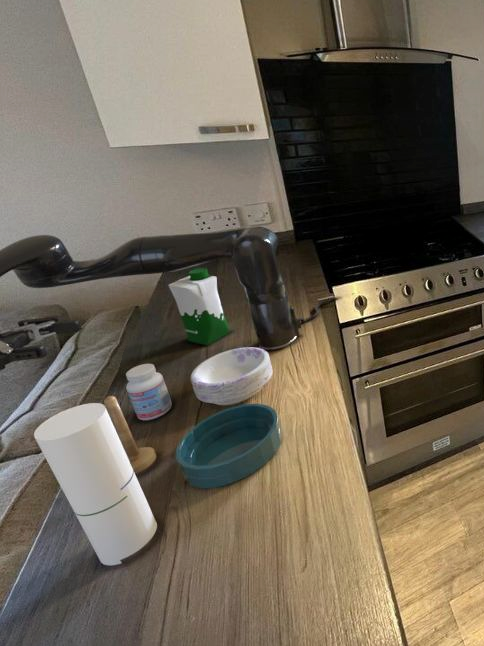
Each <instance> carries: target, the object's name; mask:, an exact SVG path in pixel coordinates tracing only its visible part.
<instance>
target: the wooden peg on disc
mask: <svg viewBox="0 0 484 646" xmlns="http://www.w3.org/2000/svg"><path fill="white" fill-rule="evenodd" d="M103 403H104V404H103V405H104V406H105V408H106V410H107V412H108V414H109V416H110V419H111V421H112V423H113V425H114V428H115V430H116V432H117V434H118V437H119V439H120V441H121V444H122V446H123V448H124V450H125V453H126V455H127V457H128V460H129V462H130V464H131V466H132V469H133V471H134V473H135V475H136V474H138V473H141V472H143V471H144V470H146V469H147V468H149V467H150V466H151V465H153V463H154V462H155V461H156V460H157V453H156V451H155V449H154V447H151V446H144V447H143V446H142V447H139V448H138V446H137V444H136V442H135V439H134V436H133V434H132V432H131V429H130V427H129V425H128V423H127V420H126V418H125V416H124V413H123V411H122V409H121V406H120V404H119V402H118V399H117V397H116V396H113V395H109V396H106V398H104V400H103Z"/></svg>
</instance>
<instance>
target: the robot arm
mask: <svg viewBox="0 0 484 646" xmlns="http://www.w3.org/2000/svg"><path fill="white" fill-rule="evenodd" d="M278 247H279V238H278V236H277V235H276V233H275V232H274V231H273V230H271V229H269V228H266V227H264V226H248V227H241V228H236V229H230V230H224V231H217V232H203V233H197V232H196V233H182V234H181V233H180V234H162V235H160V234H159V235H150V236H149V235H147V236H139V237H135V238H132V239H130V240H128V241H126V242H124V243H123V244H122V245H119V246H117V248H115V249H113V250H112V251H111V252H109V253H107V254H106V255H103V256H101V257H99V258H94V259H93V258H92V259H88V260H74V259H73V257H72V256H71V254H70V252H69V250H68V249H67V247H66V246H65V244H64V243H63V241H62V240H61V239H60V238H59V237H57V236H55V235H51V234H37V235H32V236H28V237H25V238H22V239H19V240H17V241H14V242H13V243H10V244H8V245H6V246H4V247H3V248H1V249H0V278H2V277H3V276H4V275H6V274H8V273H9V272H11V271H13V273H14V274H15V276H16V277H17V279H18V280H19V281H20V282H21V283H22V285H24V286H25V287H27V288H32V289H47V288H55V287H63V286H69V285H74V284H75V285H76V284H79V283H85V282H91V281H97V280H105V279H113V278H120V277H129V276H130V277H131V276H141V275H142V276H143V275H154V274H165V273H173V272H179V271H182V270H183V271H184V270H187V269H191V268H194V267H198V266H200V265H204V264H206V263H209V262H213V261H217V260H224V259H232V262H233V265H234V268H235V272H236V275H237V278H238V281H239V283H240V284H241V285H242V286H243V290H244V293H245V297H246V300H247V301H246V302H247V305H248V308H249V312H250V316H251V319H252V323H253V328H254V333H255V337H256V339H257V342H258V348H261V349H263V350H265V351H275V350H280V349H283V348H285V347H288V346H290V345H292V344H293V343H295V341H296V340H297V339H298V338H299V337H301V335H300V330H299V329H301V328H302V324H301V323H303V324H304V323H306V322H309V321H311V320H313V319H314V318H316V317H317V316H318V315H319V309H318V308H319V307H320V306H321V305H323V304H324V303H326V302H328V301H330V300H335V301H337V300H338V299H339V298H338V297H335V296H332V297H333V299H330V300H329V299H326V298H324V299H325V300H324V299H323V300H321V301H320V302H318V303H319V304H318V303H317V304H318V305H317V304H316V305H317V306H316V305H315V306H316V309H315V306H314V308H313V310H314V312H315V313H313V315H311V316H309V317H307V318H305V319H304V318H303V317H299V318H297V316H296V313H295V312H296V311H295V309H294V307H293V306H291V305H290V301H289V297H288V292H287V288H286V284H285V283H286V282H285V279H284V276H283V274H282V273H281V271H280V270H279V266H278V262H277V258H276V251H277V250H278ZM17 325H18V327H14V328H12V327H11V328H6V329H3V330H0V371H3V370H5V369H6V366H7V365H15V364H17V363H18V362H19V361H20V362H21V361H28V360H37V359H44V358H45V357H46V356H48V352H47V349H46V347H45V346H44V345H42V344H41V345H40V344H39V345H32V344H36V343H39V342H42V341H43V340H44V338H47V337H51V336H54V335H63V334H64V335H65V334H72V333H78V332H80V331H81V330H82V326H81V324H80V322H79V320H77V319H76V320H66V321H65V320H64V321H61V320H60V318H59V316H58V315H56V316H55V315H54V316H46V317H39V318H38V317H37V318H31V319H23V320H19V321H17ZM32 334H33V335H34V337H32V338H31V337H30V335H32ZM30 345H31V346H30Z"/></svg>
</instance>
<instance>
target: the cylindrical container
mask: <svg viewBox="0 0 484 646" xmlns="http://www.w3.org/2000/svg"><path fill="white" fill-rule="evenodd" d="M33 437H34V439H35V441H36V444H37V445H38V447H39V449H40V450H41V453H42V455H43V456H44V458H45V460H46V462H47V464H48V465H49V468H50V469H51V471H52V473H53V475H54V477H55V479H56V481H57V482H58V484H59V486H60V488H61V490H62V492H63V494H64V496H65V498H66V499H67V501H68V503H69V505H70V507H71V509H72V511H73V512H74V514H75V516H76V519H77V520H78V522H79V524H80V526H81V527H82V530H83V532H84V533H85V535H86V537H87V539H88V541H89V543H90V545H91V547H92V548H93V550H94V552H95V554H96V556H97V558H98V560H99V561H100V562H99V563H101V564H102V565H104V566H116V565H120V564H123V562H122V560H125V559H126V558H128V557H130V556H132V555H134V554H135V553H137V552H138V551H140V550H141V549H142V548H143V547H145V546H146V545H147V544H148V543H150V541H151V540H152V538H153V537H154V535H155V533H156V531H157V529H158V524H157V520H156V518H155V516H154V514H153V512H152V509H151V507H150V504H149V502H148V500H147V498H146V496H145V493H144V492H143V489H142V487H141V485H140V482H139V480H138V477H137V476H136V474H135V473H134V471H133V469H132V466H131V464H130V462H129V460H128V457H127V455H126V451H125V449H124V447H123V444H122V442H121V440H120V438H119V435H118V433H117V431H116V429H115V426H114V424H113V422H112V420H111V417H110V415H109V413H108V411H107V408H106V406H105V404H103V403H99V402H91V403H84V404H80V405H76V406H72V407H70V408H68V409H65V410H62V411H61V412H58V413H56V414H54V415H53V416H51V417H49V418H47V419H46V420H44V421H43V422H42V423H40V425H39V426H38V427H36V429H35V431H34V432H33Z"/></svg>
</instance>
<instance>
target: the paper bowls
mask: <svg viewBox="0 0 484 646" xmlns="http://www.w3.org/2000/svg"><path fill="white" fill-rule="evenodd" d="M273 371H274V370H273V366H272V362H271V358H270V354H269V352H268V351H267V350H263V349H261V348H260V347H253V346H252V347H251V346H247V347H246V346H245V347H238V348H237V347H236V348H233V349H229V350H226V351H223V352H220V353H217V354H215V355H213V356H210V357H209V358H207V359H205V360H204V361H203V362H201V363H199V364H198V365H197V366H196V367H195V368H194V369H193V371H192V372H191V375H190V383H191V385H192V389H193V392H194V395H195V397H196V398H197V399H198V400H199V401H201V402H203V403H208V404H215V405H218V406H231V405H235V404H238V403H242V402H245V401H246V400H248V399H250V398H252V397H253V396H255V395H256V394H257V393H259V392H260V391H261V390H262V388H263V387H264V386H265V385H266V384H267V383H268V382H269V381H270V380H271V378H272V377H273V374H274V372H273Z"/></svg>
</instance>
